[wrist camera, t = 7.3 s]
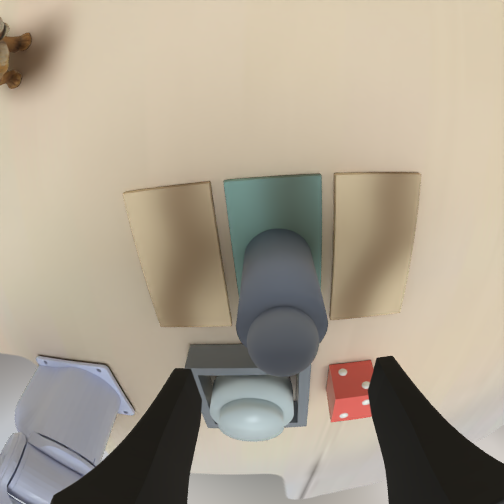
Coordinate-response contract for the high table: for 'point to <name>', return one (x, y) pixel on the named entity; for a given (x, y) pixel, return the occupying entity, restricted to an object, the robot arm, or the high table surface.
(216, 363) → the dome frame
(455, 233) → the high table surface
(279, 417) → the dome
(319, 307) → the pawn
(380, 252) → the track
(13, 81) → the lion figurine
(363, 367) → the red die
